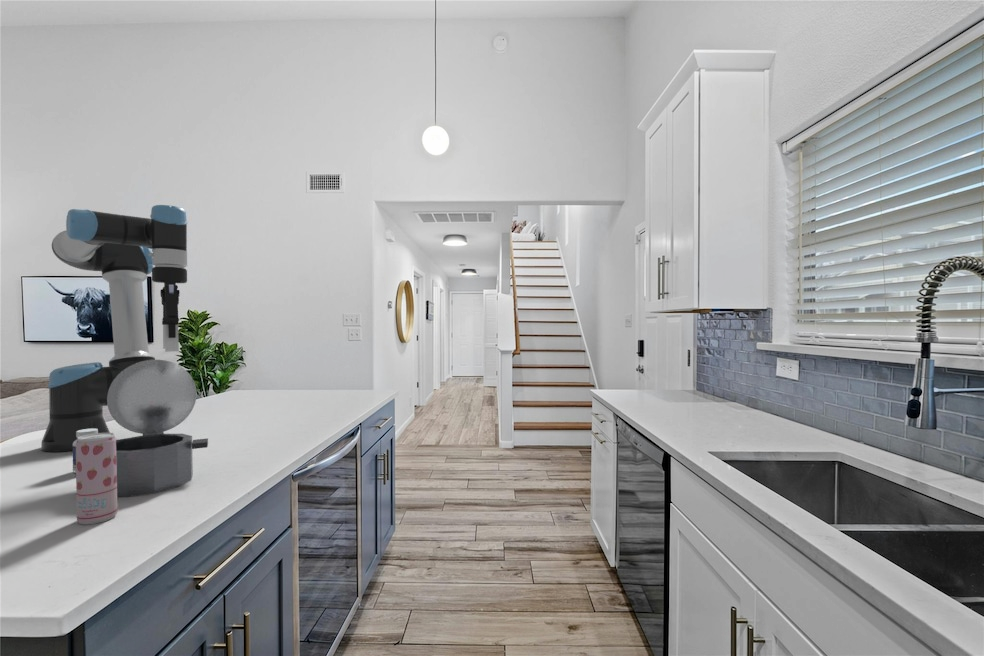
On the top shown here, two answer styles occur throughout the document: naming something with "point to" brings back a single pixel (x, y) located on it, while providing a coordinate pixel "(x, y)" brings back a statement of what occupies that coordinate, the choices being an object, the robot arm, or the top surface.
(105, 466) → the beverage can
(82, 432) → the pill bottle
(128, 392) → the lid
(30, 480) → the top surface
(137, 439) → the pot
